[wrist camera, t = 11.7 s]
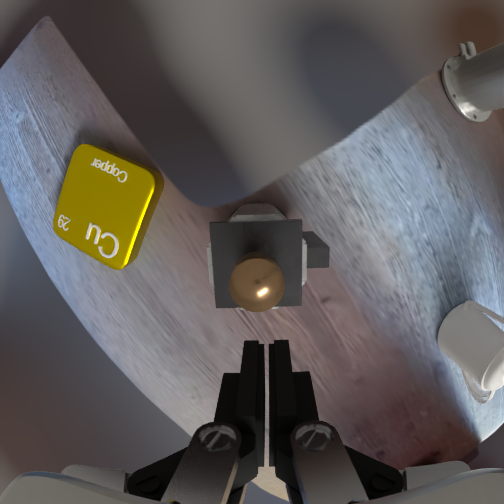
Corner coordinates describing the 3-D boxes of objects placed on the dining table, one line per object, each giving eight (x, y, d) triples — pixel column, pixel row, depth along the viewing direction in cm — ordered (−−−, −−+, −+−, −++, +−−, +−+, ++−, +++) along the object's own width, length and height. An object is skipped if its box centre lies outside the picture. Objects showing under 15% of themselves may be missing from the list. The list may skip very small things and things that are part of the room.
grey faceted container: (223, 203, 39) (202, 216, 24) (308, 201, 38) (335, 212, 24) (226, 268, 41) (210, 313, 27) (307, 265, 40) (331, 309, 26)
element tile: (169, 176, 38) (158, 175, 34) (134, 267, 42) (121, 276, 37) (92, 142, 37) (75, 139, 32) (64, 227, 40) (47, 232, 36)
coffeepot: (475, 256, 39) (546, 291, 21) (471, 359, 45) (516, 407, 27) (432, 277, 40) (503, 326, 22) (433, 380, 46) (474, 437, 28)
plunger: (229, 217, 34) (207, 243, 20) (284, 215, 34) (303, 240, 19) (231, 270, 35) (215, 327, 21) (285, 268, 35) (301, 325, 21)
